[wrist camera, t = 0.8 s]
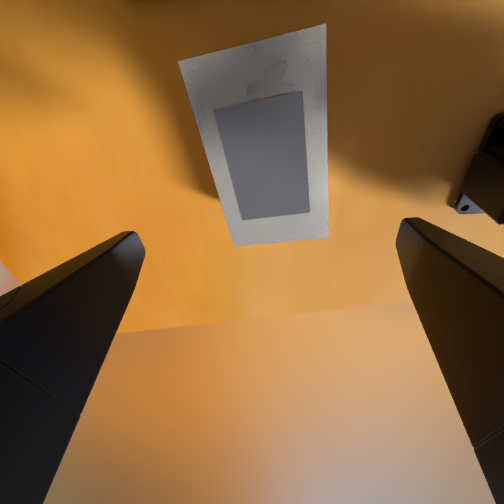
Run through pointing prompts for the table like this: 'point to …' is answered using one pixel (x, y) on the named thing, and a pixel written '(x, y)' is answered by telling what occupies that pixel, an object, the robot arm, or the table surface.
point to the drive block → (266, 134)
